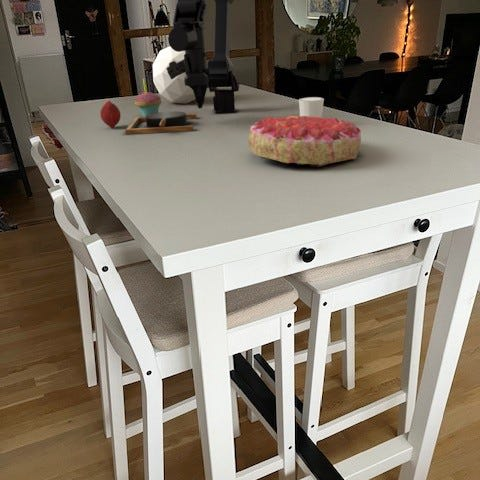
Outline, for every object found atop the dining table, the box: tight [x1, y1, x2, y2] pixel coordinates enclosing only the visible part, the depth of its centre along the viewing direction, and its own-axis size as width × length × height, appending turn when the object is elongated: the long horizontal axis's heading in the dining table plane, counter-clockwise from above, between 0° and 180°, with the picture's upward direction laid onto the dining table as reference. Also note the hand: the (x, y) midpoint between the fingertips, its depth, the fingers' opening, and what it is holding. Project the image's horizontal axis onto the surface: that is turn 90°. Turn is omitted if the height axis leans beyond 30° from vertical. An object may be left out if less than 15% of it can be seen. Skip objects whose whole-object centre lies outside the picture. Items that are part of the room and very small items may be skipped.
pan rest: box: [125, 113, 198, 135], centre depth 155 cm, size 19×19×1 cm
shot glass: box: [298, 96, 325, 118], centre depth 142 cm, size 7×7×7 cm
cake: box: [247, 115, 362, 168], centre depth 115 cm, size 25×25×8 cm
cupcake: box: [134, 76, 162, 117], centre depth 167 cm, size 9×8×12 cm
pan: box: [145, 110, 188, 128], centre depth 151 cm, size 12×20×3 cm, turn 2°
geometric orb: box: [152, 45, 196, 105], centre depth 186 cm, size 19×20×20 cm
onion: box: [99, 98, 121, 129], centre depth 154 cm, size 6×6×8 cm
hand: (200, 108), depth 152 cm, fingers closed
